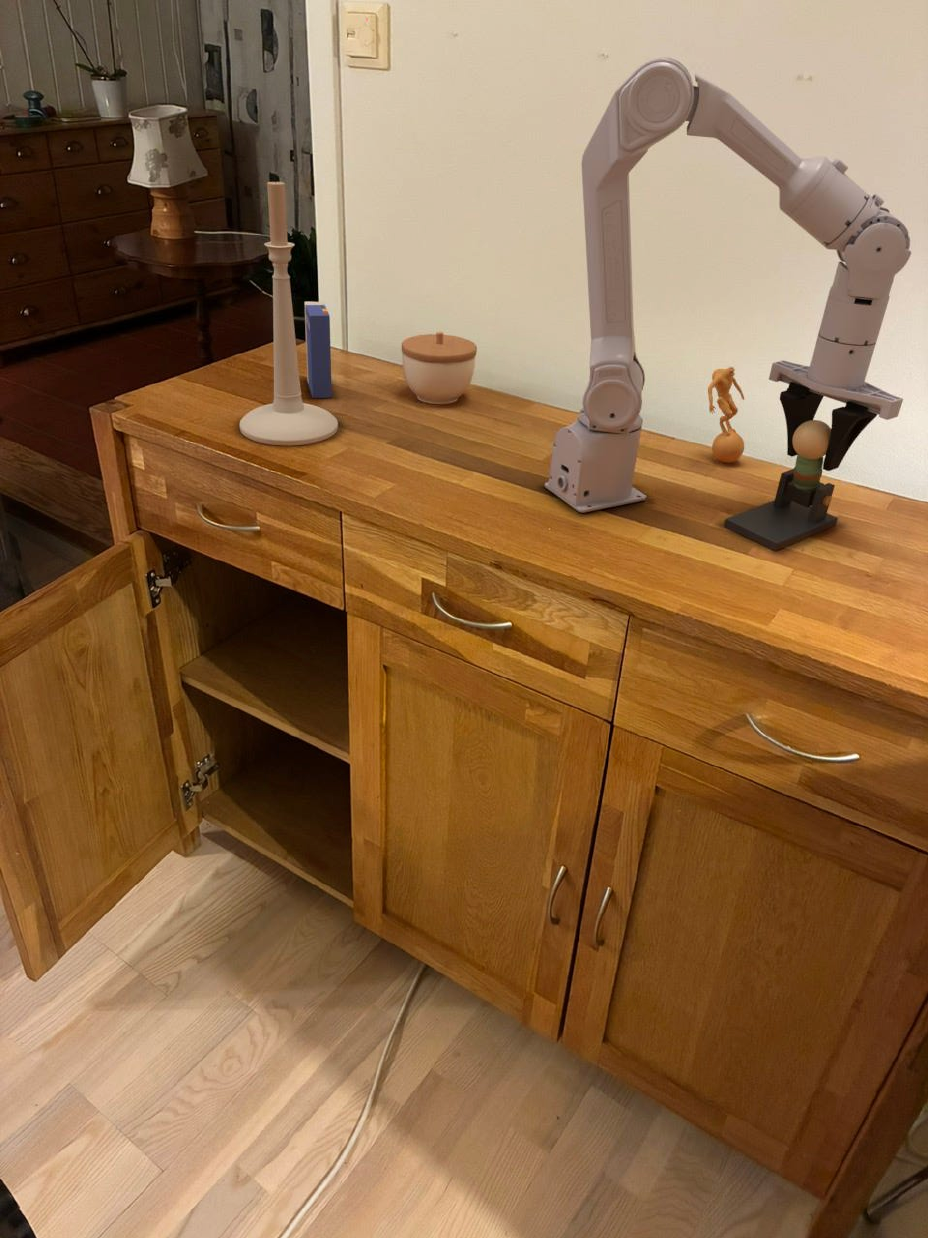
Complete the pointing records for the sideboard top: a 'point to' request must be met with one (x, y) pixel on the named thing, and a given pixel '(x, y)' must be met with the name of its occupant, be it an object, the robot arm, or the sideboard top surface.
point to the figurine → (728, 442)
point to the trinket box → (438, 366)
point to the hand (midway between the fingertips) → (812, 461)
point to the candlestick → (285, 354)
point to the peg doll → (808, 461)
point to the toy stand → (785, 517)
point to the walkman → (318, 349)
